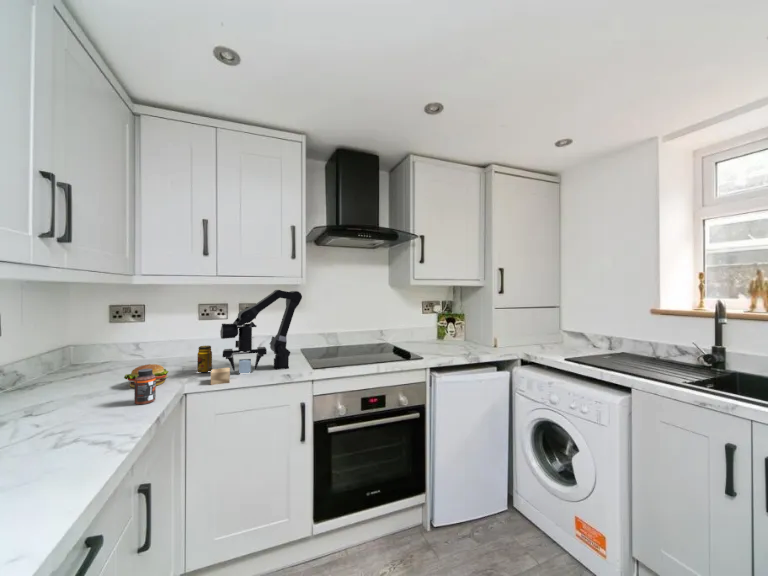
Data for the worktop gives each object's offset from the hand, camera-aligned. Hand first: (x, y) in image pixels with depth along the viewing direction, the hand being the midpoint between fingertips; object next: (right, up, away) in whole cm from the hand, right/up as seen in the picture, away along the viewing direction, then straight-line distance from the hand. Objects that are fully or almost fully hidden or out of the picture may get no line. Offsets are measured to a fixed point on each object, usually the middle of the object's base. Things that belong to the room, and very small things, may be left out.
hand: (244, 370), depth 150 cm
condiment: (-20, -1, +2) cm, 20 cm away
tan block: (-4, -2, -14) cm, 15 cm away
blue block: (0, -1, 0) cm, 1 cm away
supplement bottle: (-18, -2, -39) cm, 43 cm away
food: (-32, -1, -18) cm, 37 cm away
